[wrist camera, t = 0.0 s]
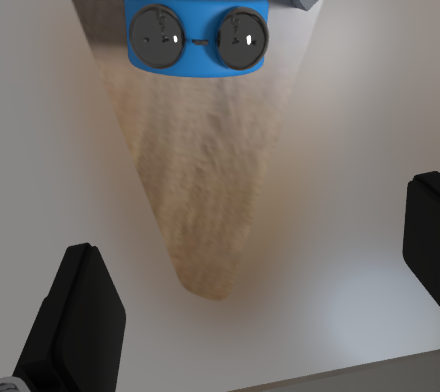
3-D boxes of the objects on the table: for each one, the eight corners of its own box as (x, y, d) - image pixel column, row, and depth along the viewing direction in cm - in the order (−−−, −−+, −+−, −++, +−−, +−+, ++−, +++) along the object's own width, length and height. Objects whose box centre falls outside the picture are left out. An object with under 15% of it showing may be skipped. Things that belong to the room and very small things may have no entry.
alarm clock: (135, 50, 43) (117, 82, 30) (131, -13, 40) (109, -6, 27) (251, 52, 45) (280, 85, 32) (255, -8, 42) (290, 1, 29)
